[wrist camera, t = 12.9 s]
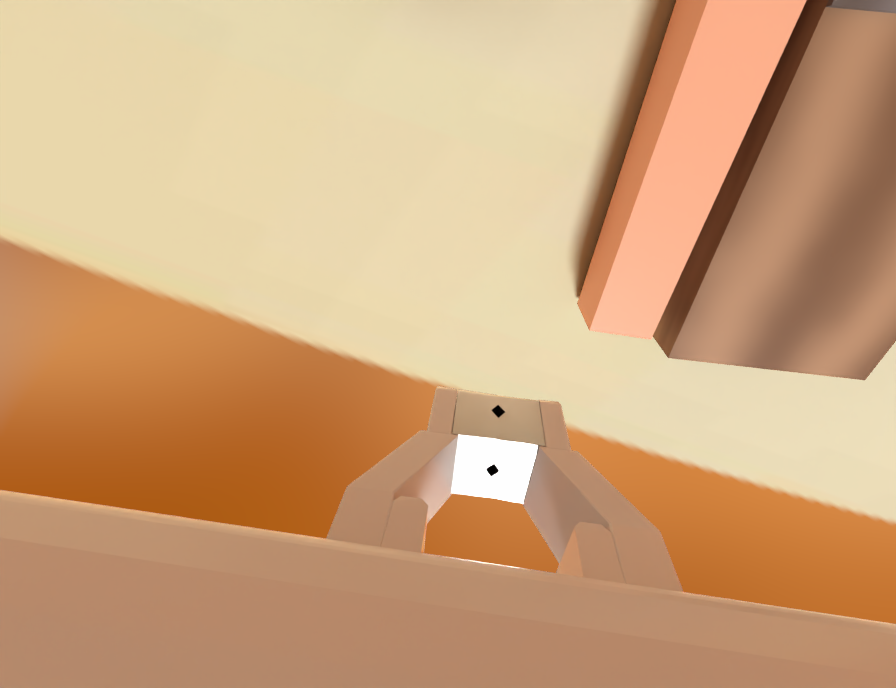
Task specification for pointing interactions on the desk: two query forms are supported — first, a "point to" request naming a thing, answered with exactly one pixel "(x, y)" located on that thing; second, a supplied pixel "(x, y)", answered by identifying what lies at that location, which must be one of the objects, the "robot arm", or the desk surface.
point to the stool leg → (681, 154)
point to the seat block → (804, 212)
